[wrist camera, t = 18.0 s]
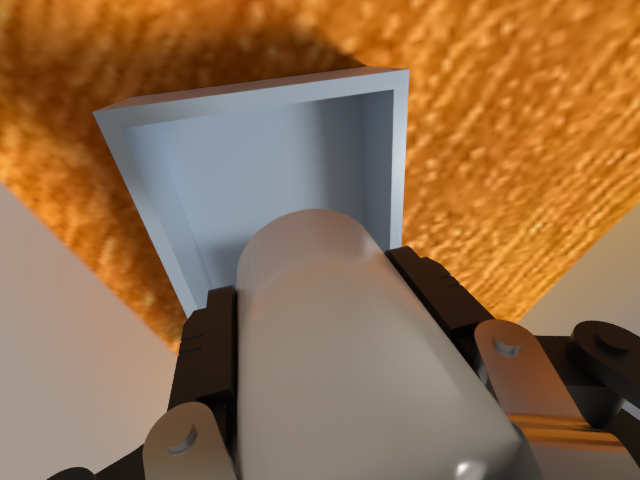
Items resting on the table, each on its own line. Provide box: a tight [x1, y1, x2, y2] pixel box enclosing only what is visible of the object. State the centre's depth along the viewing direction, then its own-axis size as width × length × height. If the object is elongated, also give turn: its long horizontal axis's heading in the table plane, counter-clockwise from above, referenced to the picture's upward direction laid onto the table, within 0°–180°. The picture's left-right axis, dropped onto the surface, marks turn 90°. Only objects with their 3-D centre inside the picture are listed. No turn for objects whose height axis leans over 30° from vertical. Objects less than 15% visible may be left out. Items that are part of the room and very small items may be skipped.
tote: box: [92, 66, 409, 318], centre depth 22 cm, size 22×15×6 cm
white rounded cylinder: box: [237, 209, 523, 480], centre depth 8 cm, size 5×5×7 cm
